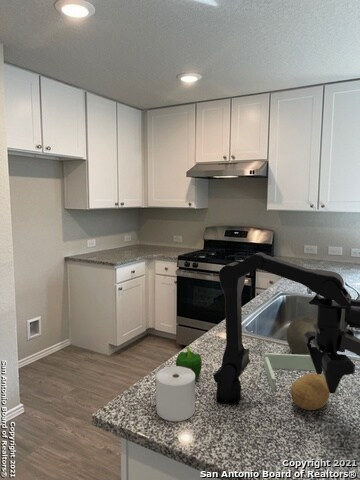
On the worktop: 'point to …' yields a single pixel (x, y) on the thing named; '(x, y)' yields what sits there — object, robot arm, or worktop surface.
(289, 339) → the cantaloupe
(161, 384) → the toilet tissue
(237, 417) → the worktop surface
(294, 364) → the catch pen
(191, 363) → the bell pepper
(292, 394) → the potato
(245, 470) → the worktop surface
